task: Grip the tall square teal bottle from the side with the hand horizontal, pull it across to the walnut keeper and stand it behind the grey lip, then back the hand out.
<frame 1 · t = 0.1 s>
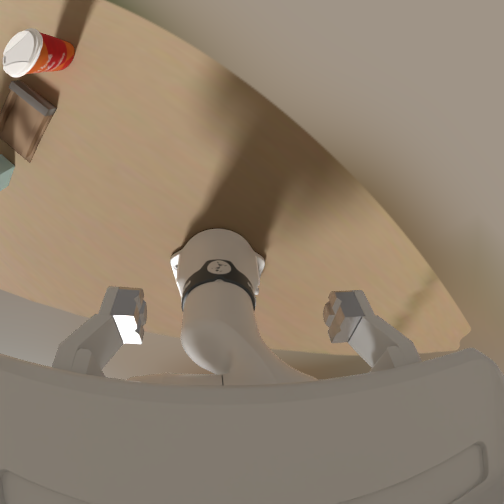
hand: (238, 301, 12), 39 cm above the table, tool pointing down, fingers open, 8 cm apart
paper cup: (63, 56, 32), on the table
bottle: (4, 170, 40), on the table
keeper: (23, 120, 36), on the table
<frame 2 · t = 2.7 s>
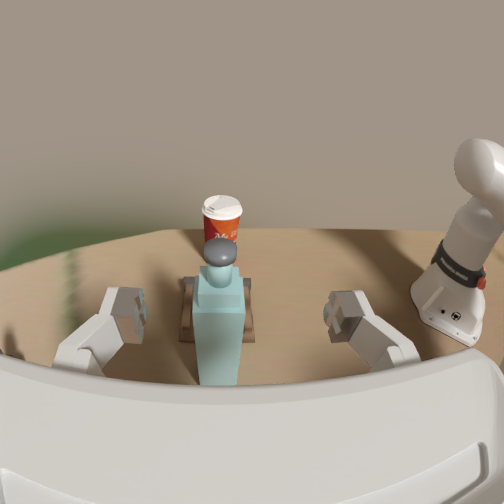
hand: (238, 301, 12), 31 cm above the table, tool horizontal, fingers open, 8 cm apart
paper cup: (219, 261, 61), on the table
bottle: (217, 373, 40), on the table
keeper: (216, 313, 50), on the table
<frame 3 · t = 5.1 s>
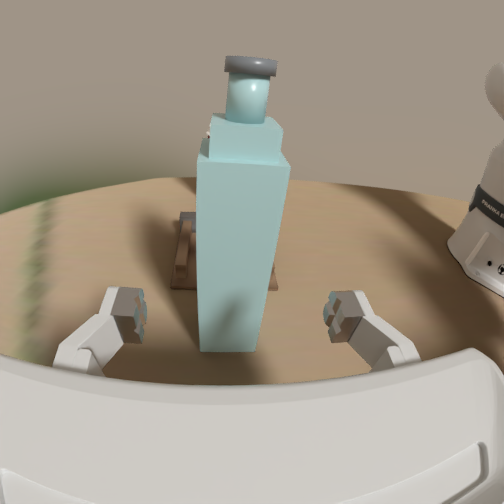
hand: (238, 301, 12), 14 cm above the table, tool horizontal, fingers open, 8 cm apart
bottle: (226, 330, 28), on the table
keeper: (223, 256, 37), on the table
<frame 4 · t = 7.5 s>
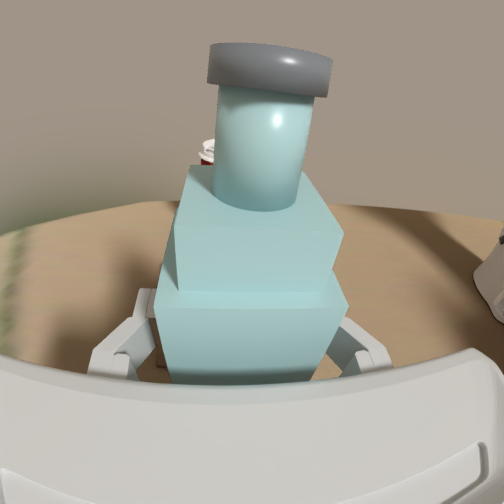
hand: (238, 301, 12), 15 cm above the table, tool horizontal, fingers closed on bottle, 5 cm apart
paper cup: (224, 240, 41), on the table
bottle: (226, 427, 20), on the table, touching gripper
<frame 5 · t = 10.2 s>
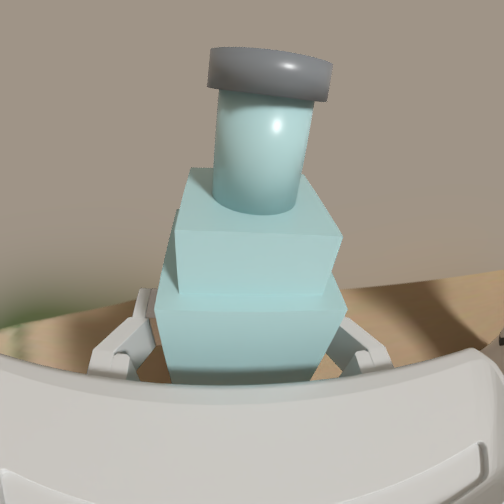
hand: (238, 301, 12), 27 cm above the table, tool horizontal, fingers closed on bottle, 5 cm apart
bottle: (226, 427, 20), point 12 cm above the table, touching gripper
when the fingers open (16 cm above the table, at t = 12.8 s): bottle stays where it is, resting on keeper.
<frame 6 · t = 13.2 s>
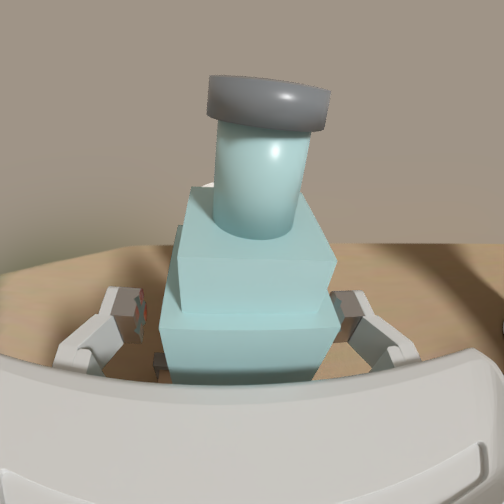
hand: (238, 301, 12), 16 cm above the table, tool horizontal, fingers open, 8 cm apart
bottle: (226, 429, 20), resting on keeper
keeper: (226, 430, 21), on the table
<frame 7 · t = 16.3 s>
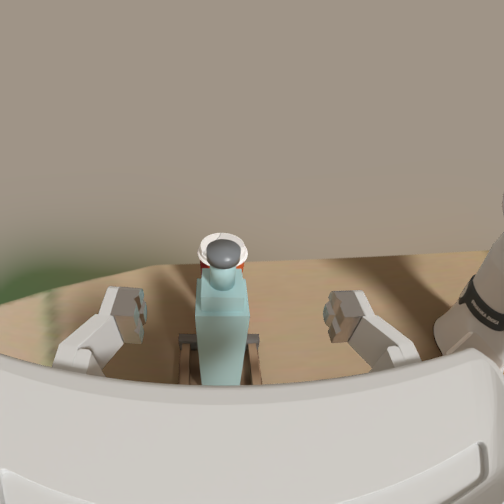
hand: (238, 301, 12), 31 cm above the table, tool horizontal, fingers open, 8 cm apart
paper cup: (220, 307, 51), on the table
bottle: (220, 377, 39), resting on keeper
keeper: (220, 378, 40), on the table
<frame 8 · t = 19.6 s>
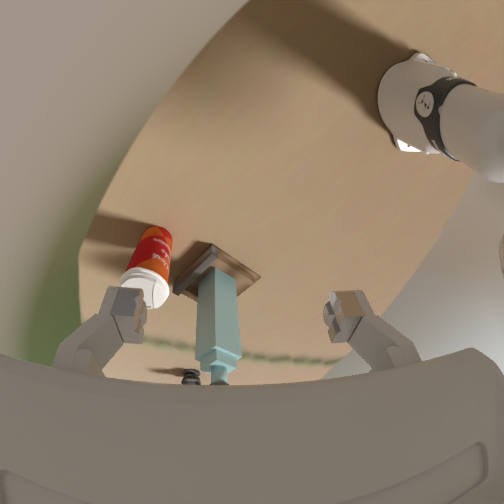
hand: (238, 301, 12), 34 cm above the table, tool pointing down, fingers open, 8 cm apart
salt shaker: (191, 372, 79), on the table
paper cup: (157, 238, 50), on the table
bottle: (217, 280, 57), resting on keeper
keeper: (216, 279, 57), on the table
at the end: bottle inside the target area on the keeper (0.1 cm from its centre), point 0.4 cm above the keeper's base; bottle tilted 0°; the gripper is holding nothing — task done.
